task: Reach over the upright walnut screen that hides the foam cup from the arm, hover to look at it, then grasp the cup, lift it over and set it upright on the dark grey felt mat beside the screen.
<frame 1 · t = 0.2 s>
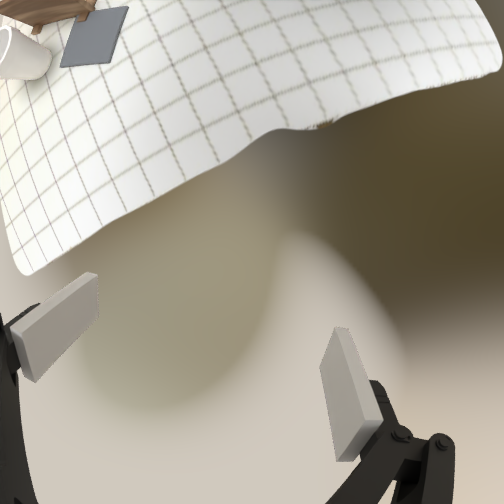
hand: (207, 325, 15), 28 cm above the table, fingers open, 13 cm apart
mat: (92, 36, 34), on the table
screen: (62, 17, 32), on the table
foam cup: (40, 64, 35), on the table
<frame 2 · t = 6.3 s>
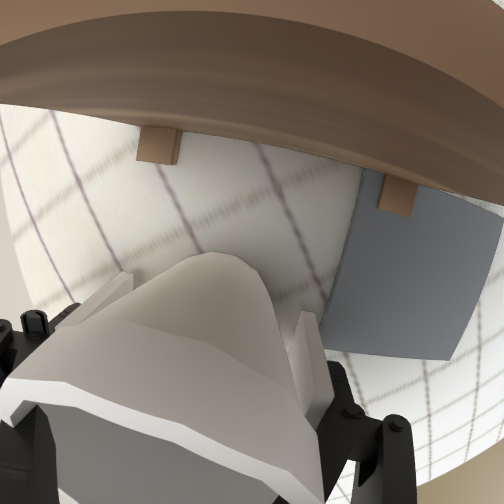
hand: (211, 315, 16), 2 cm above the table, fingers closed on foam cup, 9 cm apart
mat: (419, 278, 16), on the table
screen: (285, 136, 15), on the table
foam cup: (216, 300, 18), on the table, touching gripper
when the fingers open (4 cm above the table, at t = 13.0 s): foam cup drops 1 cm, resting on mat.
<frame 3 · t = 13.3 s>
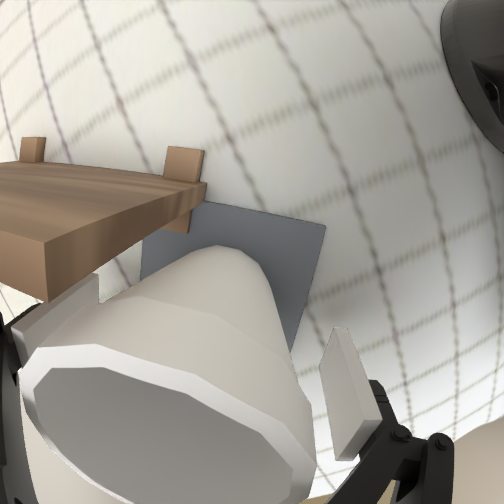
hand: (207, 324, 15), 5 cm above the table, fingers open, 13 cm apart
mat: (221, 289, 20), on the table
screen: (95, 175, 18), on the table
foam cup: (220, 291, 19), resting on mat
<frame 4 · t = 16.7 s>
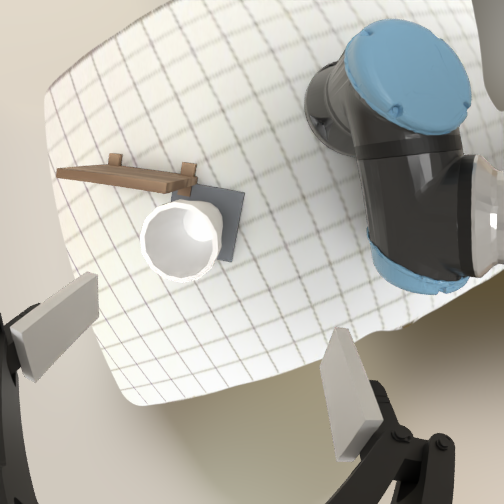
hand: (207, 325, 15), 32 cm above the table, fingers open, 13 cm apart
mat: (203, 220, 46), on the table
screen: (149, 173, 44), on the table
foam cup: (203, 221, 46), resting on mat
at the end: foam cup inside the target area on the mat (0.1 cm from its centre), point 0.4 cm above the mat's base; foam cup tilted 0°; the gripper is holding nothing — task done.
